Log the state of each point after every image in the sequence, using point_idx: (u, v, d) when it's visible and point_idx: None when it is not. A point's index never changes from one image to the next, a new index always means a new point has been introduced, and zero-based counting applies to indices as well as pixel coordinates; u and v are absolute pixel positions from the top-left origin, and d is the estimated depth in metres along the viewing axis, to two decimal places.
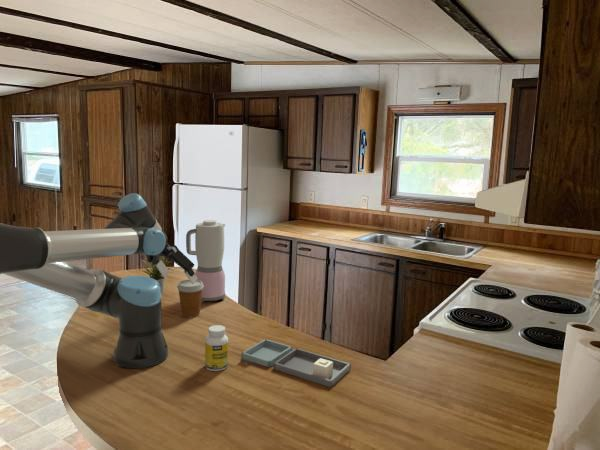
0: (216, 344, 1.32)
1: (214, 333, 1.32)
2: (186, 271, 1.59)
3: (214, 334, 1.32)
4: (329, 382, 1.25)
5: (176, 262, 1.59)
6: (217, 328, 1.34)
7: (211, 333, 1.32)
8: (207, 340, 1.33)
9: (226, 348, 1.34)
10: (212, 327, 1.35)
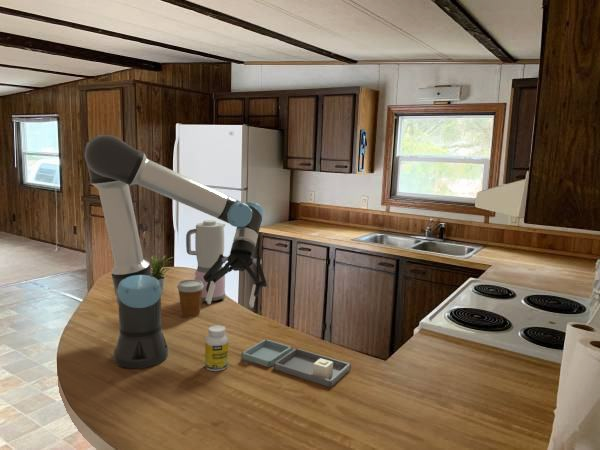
0: (216, 344, 1.32)
1: (214, 333, 1.32)
2: (259, 282, 1.45)
3: (214, 334, 1.32)
4: (329, 382, 1.25)
5: (252, 273, 1.48)
6: (217, 328, 1.34)
7: (211, 333, 1.32)
8: (207, 340, 1.33)
9: (226, 348, 1.34)
10: (212, 327, 1.35)
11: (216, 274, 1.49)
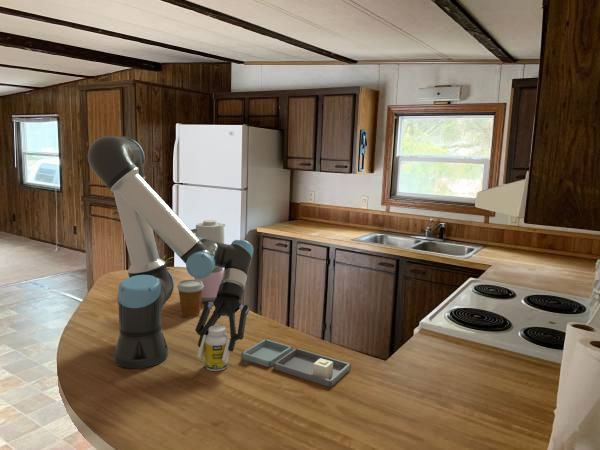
0: (216, 343, 1.32)
1: (214, 333, 1.32)
2: (233, 336, 1.34)
3: (214, 334, 1.32)
4: (329, 382, 1.25)
5: (232, 323, 1.37)
6: (217, 328, 1.34)
7: (211, 333, 1.32)
8: (207, 340, 1.33)
9: None
10: (212, 327, 1.35)
11: (207, 325, 1.37)
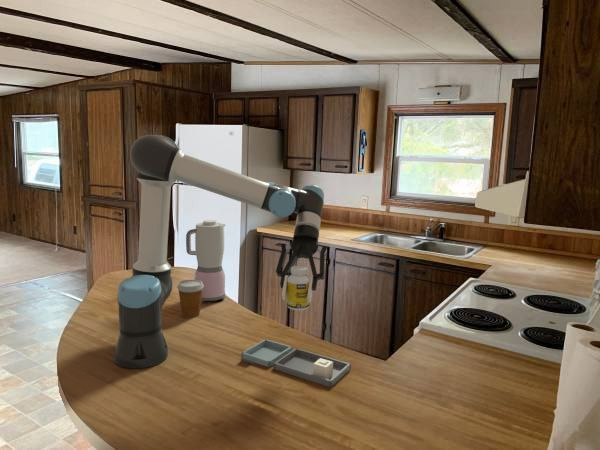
0: (301, 282, 1.31)
1: (298, 272, 1.32)
2: (316, 275, 1.33)
3: (298, 273, 1.32)
4: (329, 382, 1.25)
5: (313, 263, 1.36)
6: (299, 268, 1.33)
7: (294, 272, 1.32)
8: (290, 279, 1.32)
9: None
10: (294, 267, 1.34)
11: (288, 266, 1.37)
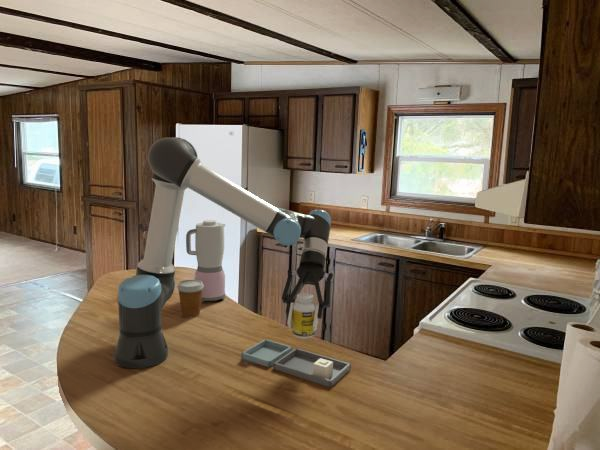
0: (306, 310, 1.31)
1: (304, 300, 1.31)
2: (322, 303, 1.33)
3: (304, 301, 1.31)
4: (329, 382, 1.25)
5: (319, 290, 1.36)
6: (305, 295, 1.33)
7: (300, 300, 1.31)
8: (296, 307, 1.32)
9: None
10: (300, 294, 1.34)
11: (293, 293, 1.36)
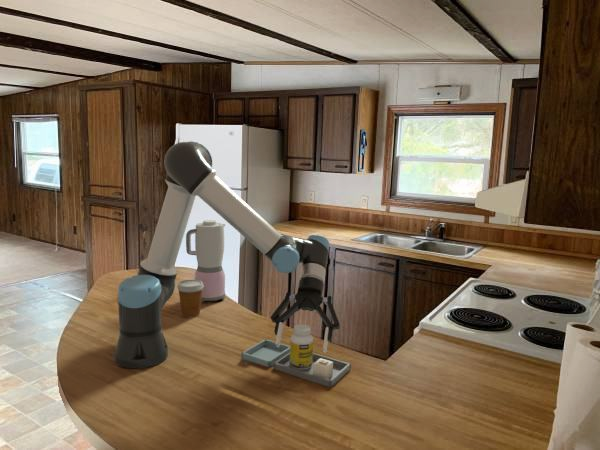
0: (303, 343, 1.32)
1: (301, 332, 1.33)
2: (332, 325, 1.34)
3: (301, 333, 1.33)
4: (329, 382, 1.25)
5: (324, 314, 1.37)
6: (303, 328, 1.34)
7: (298, 332, 1.33)
8: (293, 339, 1.33)
9: (312, 347, 1.35)
10: (297, 326, 1.35)
11: (284, 314, 1.38)
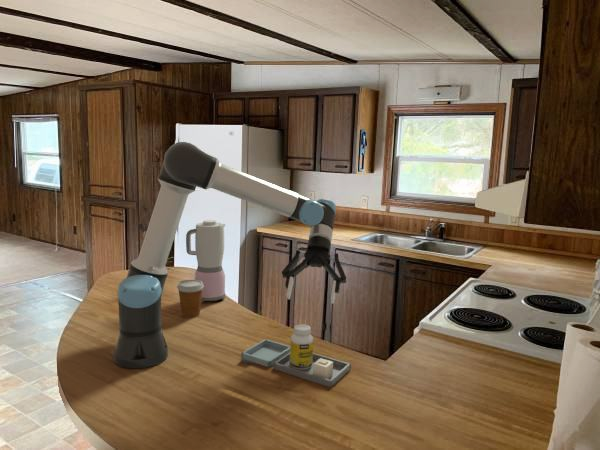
0: (304, 342, 1.32)
1: (301, 332, 1.33)
2: (339, 278, 1.45)
3: (301, 333, 1.33)
4: (329, 382, 1.25)
5: (331, 269, 1.48)
6: (303, 327, 1.34)
7: (298, 332, 1.33)
8: (293, 339, 1.33)
9: (312, 347, 1.35)
10: (297, 326, 1.35)
11: (294, 270, 1.49)
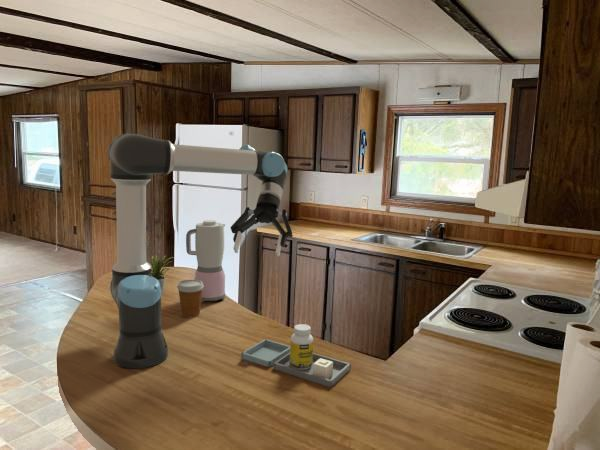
0: (304, 342, 1.32)
1: (301, 332, 1.33)
2: (285, 232, 1.49)
3: (301, 333, 1.33)
4: (329, 382, 1.25)
5: (278, 224, 1.52)
6: (303, 327, 1.34)
7: (298, 332, 1.33)
8: (293, 339, 1.33)
9: (312, 347, 1.35)
10: (297, 326, 1.35)
11: (243, 225, 1.54)
